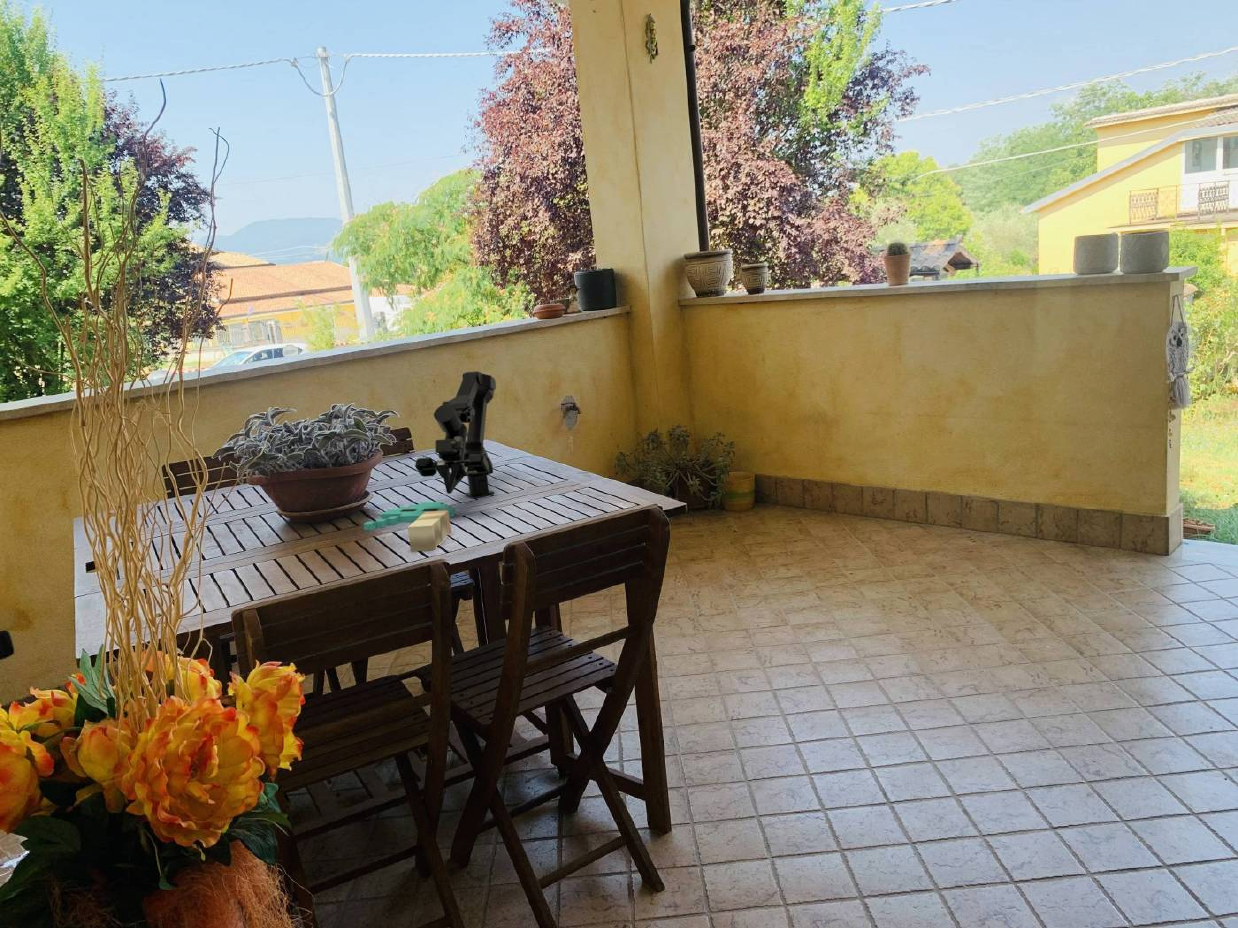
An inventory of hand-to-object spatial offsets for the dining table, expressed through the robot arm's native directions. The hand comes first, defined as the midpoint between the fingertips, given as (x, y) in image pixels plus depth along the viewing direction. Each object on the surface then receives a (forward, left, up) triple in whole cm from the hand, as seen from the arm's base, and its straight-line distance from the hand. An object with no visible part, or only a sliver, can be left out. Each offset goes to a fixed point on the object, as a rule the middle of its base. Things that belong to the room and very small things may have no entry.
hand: (448, 492), depth 239 cm
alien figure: (-12, -5, -9) cm, 15 cm away
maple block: (+8, -7, -5) cm, 12 cm away
